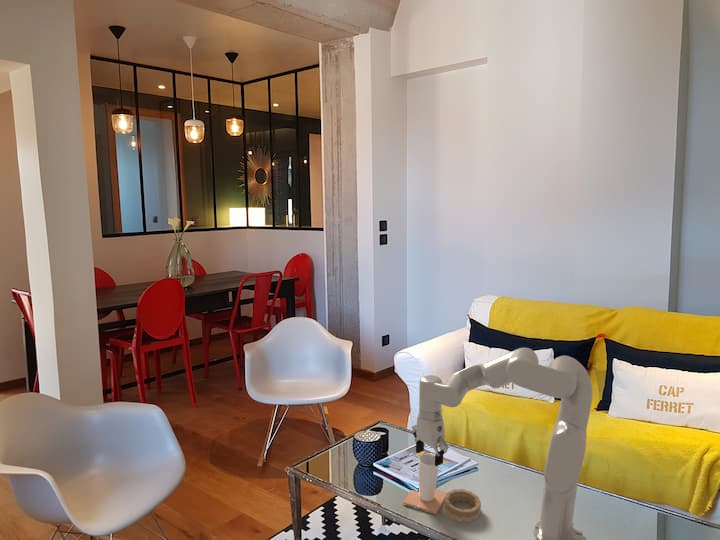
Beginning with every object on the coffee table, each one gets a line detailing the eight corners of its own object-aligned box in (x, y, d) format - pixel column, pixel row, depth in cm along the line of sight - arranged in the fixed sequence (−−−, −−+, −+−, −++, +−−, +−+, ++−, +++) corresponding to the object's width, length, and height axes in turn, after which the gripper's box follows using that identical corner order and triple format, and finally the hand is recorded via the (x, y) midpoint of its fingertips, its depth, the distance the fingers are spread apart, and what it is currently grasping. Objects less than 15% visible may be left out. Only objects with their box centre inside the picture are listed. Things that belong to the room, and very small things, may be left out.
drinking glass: (440, 497, 195) (442, 459, 192) (429, 506, 190) (431, 467, 187) (424, 489, 199) (426, 451, 196) (413, 497, 195) (414, 459, 191)
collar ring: (483, 505, 193) (483, 495, 192) (474, 526, 182) (475, 515, 181) (449, 495, 198) (450, 485, 197) (439, 515, 187) (440, 505, 186)
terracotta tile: (446, 494, 198) (447, 492, 198) (436, 514, 188) (436, 512, 187) (415, 485, 203) (415, 483, 203) (403, 504, 193) (403, 502, 192)
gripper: (456, 419, 182) (455, 466, 186) (421, 399, 196) (420, 443, 200) (439, 426, 178) (438, 473, 182) (405, 405, 192) (404, 450, 196)
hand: (429, 458), depth 191 cm, fingers open, 9 cm apart
